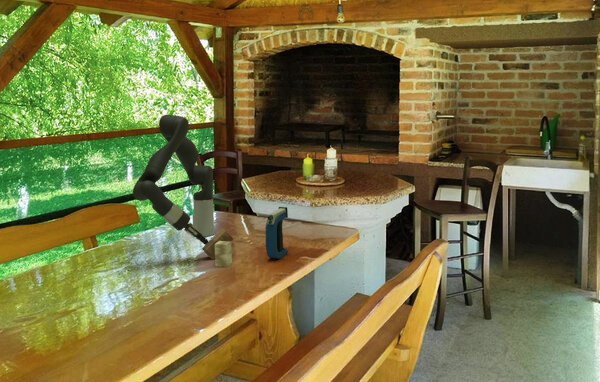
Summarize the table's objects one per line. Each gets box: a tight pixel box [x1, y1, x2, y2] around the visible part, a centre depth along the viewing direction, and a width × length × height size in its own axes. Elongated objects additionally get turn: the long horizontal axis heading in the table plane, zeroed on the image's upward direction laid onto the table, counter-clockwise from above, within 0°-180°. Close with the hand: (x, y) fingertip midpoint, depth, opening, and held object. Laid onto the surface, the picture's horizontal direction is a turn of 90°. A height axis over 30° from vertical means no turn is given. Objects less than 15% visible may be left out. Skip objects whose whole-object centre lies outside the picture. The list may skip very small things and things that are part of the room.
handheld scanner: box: [265, 206, 289, 260], centre depth 259 cm, size 5×16×20 cm, turn 161°
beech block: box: [214, 241, 233, 268], centre depth 249 cm, size 5×5×9 cm
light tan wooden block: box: [201, 228, 234, 260], centre depth 260 cm, size 5×5×12 cm
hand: (206, 242), depth 258 cm, fingers closed
